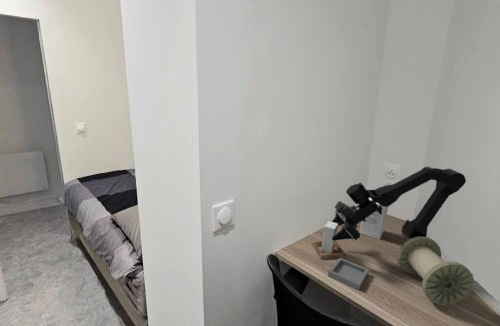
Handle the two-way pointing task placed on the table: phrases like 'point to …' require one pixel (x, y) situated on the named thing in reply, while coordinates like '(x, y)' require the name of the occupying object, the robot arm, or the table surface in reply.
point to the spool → (435, 271)
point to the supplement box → (374, 223)
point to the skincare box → (329, 237)
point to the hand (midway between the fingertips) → (330, 233)
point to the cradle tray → (348, 273)
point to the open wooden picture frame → (331, 255)
